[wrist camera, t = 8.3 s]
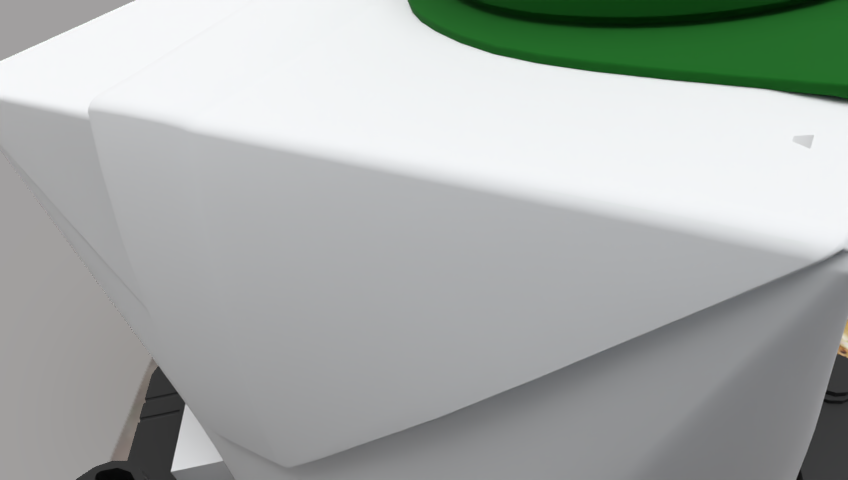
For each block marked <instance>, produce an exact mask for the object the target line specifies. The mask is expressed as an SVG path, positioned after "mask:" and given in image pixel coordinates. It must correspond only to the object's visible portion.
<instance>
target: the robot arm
mask: <svg viewBox="0 0 848 480" xmlns="http://www.w3.org/2000/svg"><path fill="white" fill-rule="evenodd" d="M145 400H146V403H144V404H143V408H142V411H141V415H140V423H138V425H137V429H136V432H135V436H134V439H133V443H132V447H131V450H130V454H129V457H128V461H111V462H108V463H105V464H102V465H99V466H96V467H94V468H92V469H91V470H89V471H88V472H86V473H85V474H83V475H82V476H80V477H79V478H77V479H76V480H235V479H234V477H233V476H232V474H231V472H230V471H229V469H228V467H227V466H226V464H225V462H224V461H223V459H222V457H221V456H220V454H219V453H218V451H217V449H216V448H215V446H214V444H213V443H212V441H211V440H210V438H209V437H208V435H207V434H206V432H205V431H204V429H203V428H202V426H201V425H200V423H199V422H198V420H197V419H196V417H195V416H194V414H193V413H192V411H191V410H190V409H189V407H188V406H187V404H186V403H185V402H184V400H183V399H182V398H181V396H180V395H179V393H178V392H177V391H176V389H175V388H174V387H173V385H172V384H171V382H170V381H169V380H168V378H167V377H166V376H165V374H164V373H163V371H162V370H161V369H160V367H159V366H158V367H157V368H156V370H155V371H154V373H153V374H152V376H151V379H150V383H149V387H148V390H147V394H146V397H145ZM796 480H848V358H846V357H844V356H842V355H840V354H837V355H836V358H835V362H834V365H833V369H832V372H831V376H830V379H829V383H828V386H827V390H826V393H825V397H824V400H823V404H822V407H821V411H820V414H819V417H818V421H817V424H816V427H815V431H814V433H813V436H812V439H811V442H810V444H809V447H808V450H807V453H806V455H805V458H804V460H803V463H802V466H801V468H800V471H799V473H798V476H797V479H796Z"/></svg>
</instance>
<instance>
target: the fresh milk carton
mask: <svg viewBox="0 0 848 480" xmlns="http://www.w3.org/2000/svg"><path fill="white" fill-rule="evenodd" d="M0 150H1V152H2V153H3V155H4V156H5V157H6V159H7V160H8V161H9V163H10V164H11V166H12V167H13V168H14V170H15V171H16V172H17V174H18V175H19V176H20V178H21V179H22V180H23V182H24V183H25V185H26V186H27V187H28V189H29V190H30V191H31V193H32V194H33V195H34V197H35V198H36V200H37V201H38V202H39V204H40V205H41V206H42V208H43V209H44V210H45V212H46V213H47V214H48V216H49V217H50V218H51V220H52V221H53V223H54V224H55V225H56V227H57V228H58V229H59V231H60V232H61V234H62V235H63V236H64V237H65V239H66V240H67V242H68V243H69V244H70V246H71V247H72V248H73V250H74V251H75V253H76V254H77V255H78V257H79V258H80V259H81V261H82V262H83V263H84V265H85V266H86V268H87V269H88V270H89V272H90V273H91V274H92V276H93V277H94V278H95V280H96V281H97V283H98V284H99V285H100V287H101V288H102V289H103V291H104V292H105V294H106V295H107V296H108V298H109V299H110V300H111V302H112V303H113V304H114V306H115V307H116V308H117V310H118V311H119V312H120V314H121V315H122V317H123V318H124V319H125V321H126V322H127V324H128V325H129V326H130V328H131V329H132V330H133V332H134V333H135V334H136V336H137V337H138V339H139V340H140V341H141V343H142V344H143V345H144V347H145V348H146V349H147V351H148V352H149V354H150V355H151V356H152V358H153V359H154V360H155V362H156V363H157V364H158V366H159V367H160V369H161V370H162V371H163V373H164V374H165V376H166V377H167V378H168V380H169V381H170V382H171V384H172V385H173V387H174V388H175V389H176V391H177V392H178V393H179V395H180V396H181V398H182V399H183V400H184V402H185V403H186V404H187V406H188V407H189V409H190V410H191V411H192V413H193V414H194V416H195V417H196V419H197V420H198V422H199V423H200V425H201V426H202V428H203V429H204V431H205V432H206V434H207V435H208V437H209V438H210V440H211V441H212V443H213V444H214V446H215V448H216V449H217V451H218V453H219V454H220V456H221V457H222V459H223V461H224V462H225V464H226V466H227V467H228V469H229V471H230V472H231V474H232V476H233V477H234V479H235V480H796V479H797V476H798V473H799V471H800V468H801V466H802V463H803V460H804V458H805V455H806V453H807V450H808V447H809V444H810V442H811V439H812V436H813V433H814V431H815V427H816V424H817V421H818V417H819V414H820V411H821V407H822V404H823V400H824V397H825V393H826V390H827V386H828V383H829V379H830V376H831V372H832V369H833V365H834V362H835V358H836V355H837V352H838V349H839V345H840V342H841V339H842V336H843V332H844V329H845V326H846V323H847V319H848V0H135V1H133V2H131V3H129V4H127V5H124V6H122V7H120V8H118V9H115V10H113V11H111V12H109V13H107V14H105V15H102V16H100V17H98V18H95V19H94V20H91V21H89V22H87V23H85V24H82V25H80V26H78V27H76V28H73V29H71V30H69V31H67V32H64V33H62V34H60V35H58V36H56V37H53V38H51V39H49V40H47V41H45V42H42V43H40V44H38V45H36V46H34V47H31V48H29V49H27V50H25V51H22V52H20V53H18V54H16V55H13V56H11V57H9V58H7V59H5V60H2V61H0Z"/></svg>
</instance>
